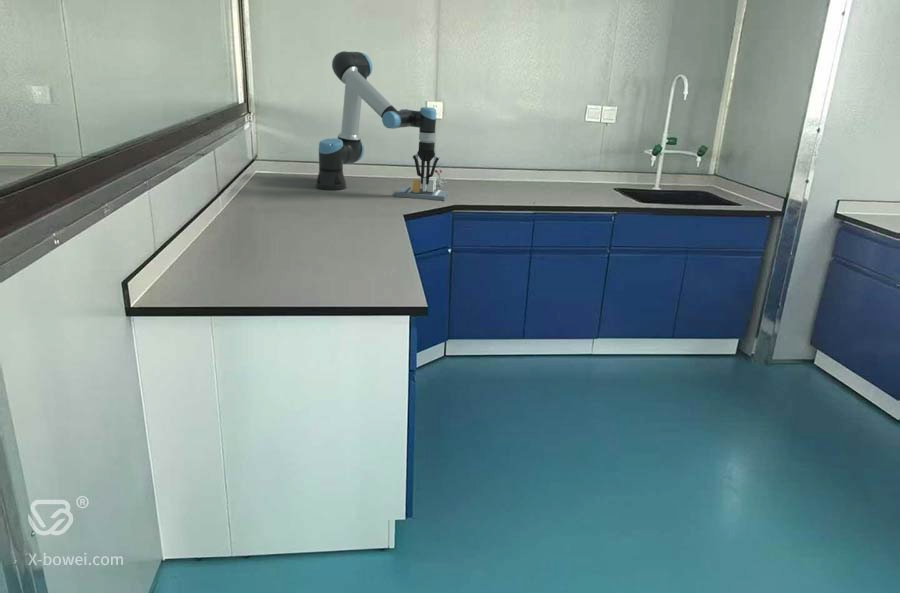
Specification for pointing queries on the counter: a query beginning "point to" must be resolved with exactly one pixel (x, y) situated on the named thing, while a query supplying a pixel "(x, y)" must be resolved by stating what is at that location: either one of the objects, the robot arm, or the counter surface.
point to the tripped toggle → (416, 185)
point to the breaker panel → (424, 192)
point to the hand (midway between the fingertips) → (424, 190)
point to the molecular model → (439, 178)
